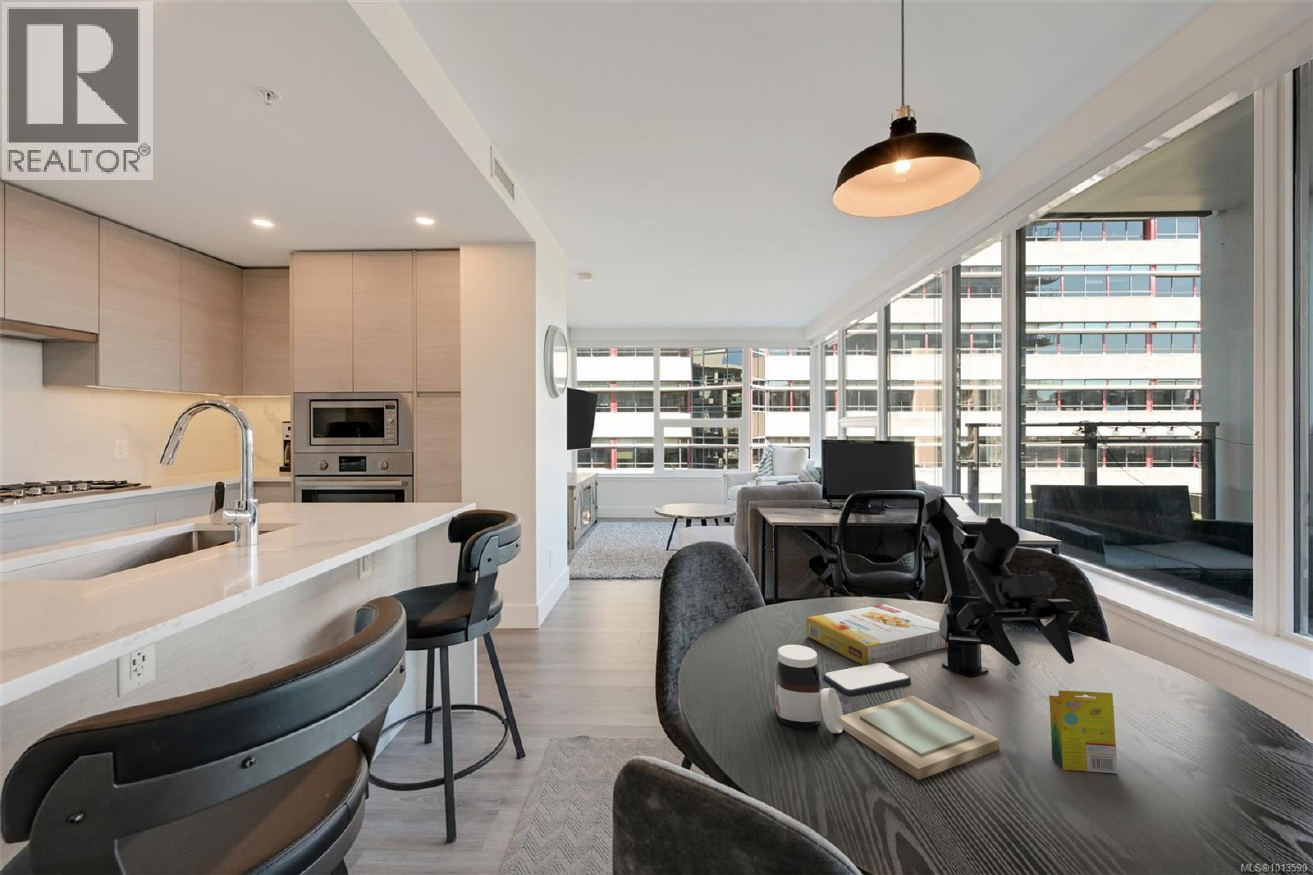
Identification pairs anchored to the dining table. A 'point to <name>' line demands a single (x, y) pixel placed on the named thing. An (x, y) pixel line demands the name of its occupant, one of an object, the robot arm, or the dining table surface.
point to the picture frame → (918, 736)
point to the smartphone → (866, 678)
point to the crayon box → (1083, 731)
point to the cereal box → (875, 633)
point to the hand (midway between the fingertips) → (1045, 663)
